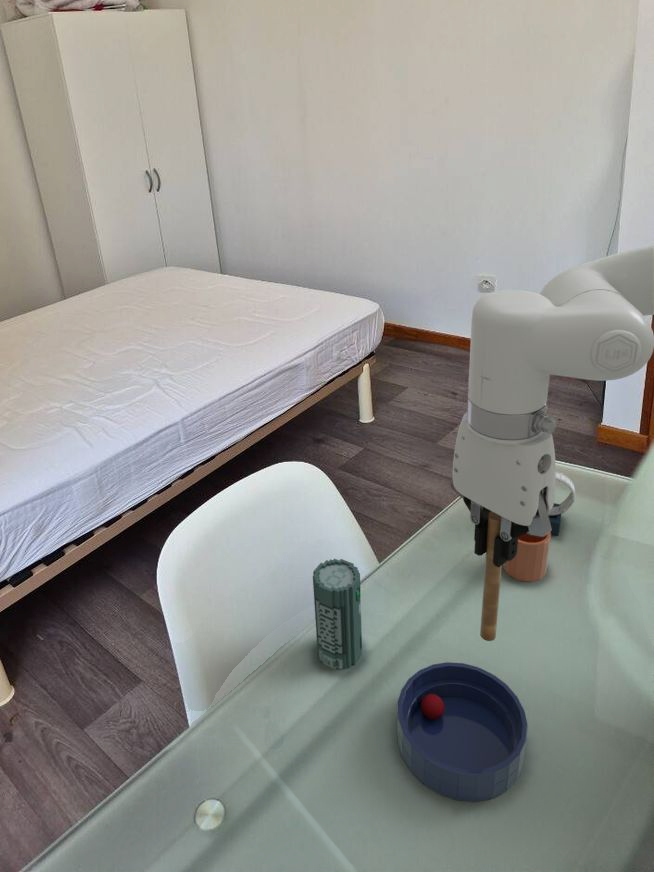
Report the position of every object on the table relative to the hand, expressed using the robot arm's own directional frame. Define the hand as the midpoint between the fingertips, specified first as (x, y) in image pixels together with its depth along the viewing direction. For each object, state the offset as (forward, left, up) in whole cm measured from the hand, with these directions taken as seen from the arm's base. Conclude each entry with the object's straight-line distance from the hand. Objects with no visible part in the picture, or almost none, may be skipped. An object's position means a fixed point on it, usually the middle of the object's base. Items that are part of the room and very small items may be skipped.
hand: (494, 554), depth 77 cm
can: (+19, +7, -27) cm, 34 cm away
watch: (+16, -39, -27) cm, 50 cm away
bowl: (-1, +5, -27) cm, 27 cm away
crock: (+12, -27, -27) cm, 40 cm away
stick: (0, 0, -13) cm, 13 cm away
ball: (+4, +5, -23) cm, 24 cm away
